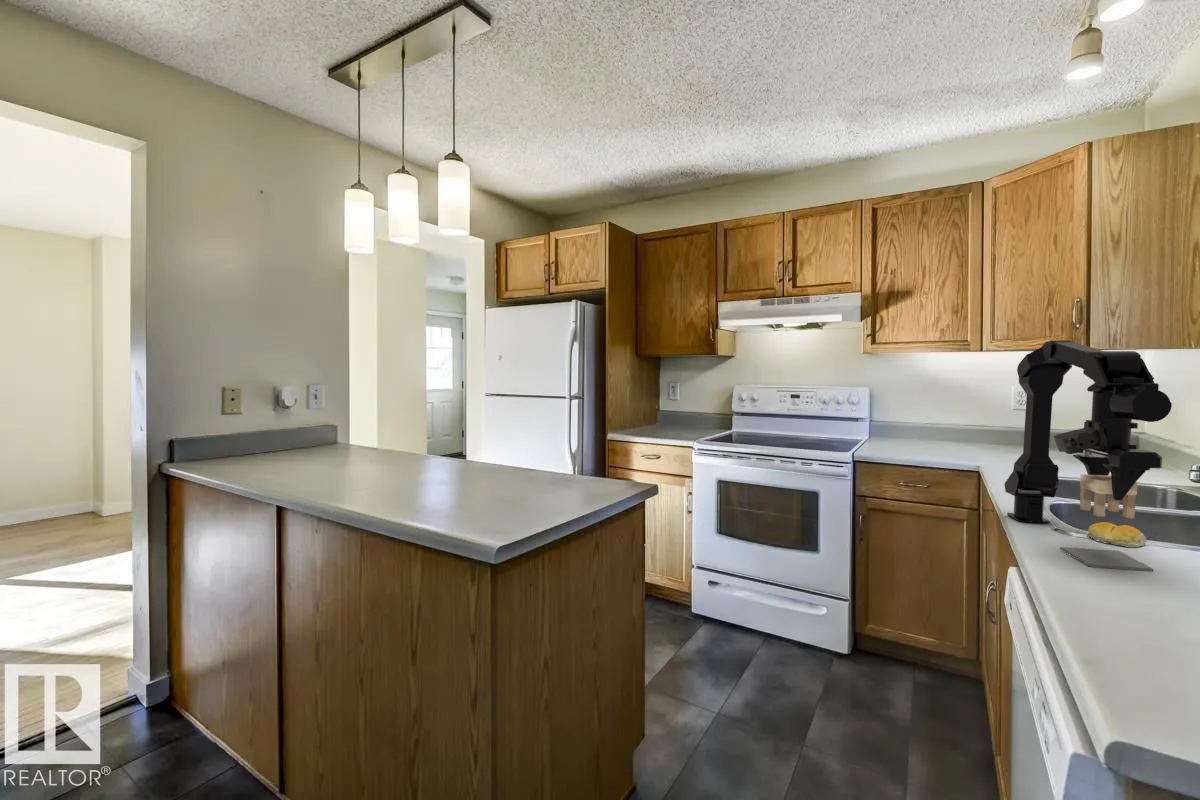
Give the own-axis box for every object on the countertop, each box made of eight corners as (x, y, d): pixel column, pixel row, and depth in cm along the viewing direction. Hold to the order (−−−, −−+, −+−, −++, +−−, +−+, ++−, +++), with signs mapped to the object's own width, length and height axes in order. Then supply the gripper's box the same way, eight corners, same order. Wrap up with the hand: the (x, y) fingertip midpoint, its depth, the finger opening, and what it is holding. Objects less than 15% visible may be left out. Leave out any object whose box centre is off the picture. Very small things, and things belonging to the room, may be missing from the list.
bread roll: (1097, 533, 124) (1098, 516, 124) (1150, 545, 116) (1151, 526, 116) (1079, 538, 120) (1080, 521, 120) (1132, 551, 112) (1133, 532, 112)
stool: (1078, 508, 110) (1080, 474, 110) (1114, 510, 109) (1116, 475, 108) (1097, 516, 104) (1098, 480, 104) (1135, 518, 103) (1137, 482, 102)
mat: (1059, 549, 113) (1059, 546, 113) (1118, 553, 111) (1118, 550, 111) (1088, 566, 104) (1088, 564, 104) (1153, 571, 101) (1153, 568, 101)
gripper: (1037, 411, 116) (1034, 483, 117) (1090, 420, 98) (1086, 505, 100) (1100, 412, 113) (1096, 486, 115) (1166, 421, 95) (1161, 509, 97)
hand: (1107, 495), depth 106 cm, fingers closed on stool, 6 cm apart
